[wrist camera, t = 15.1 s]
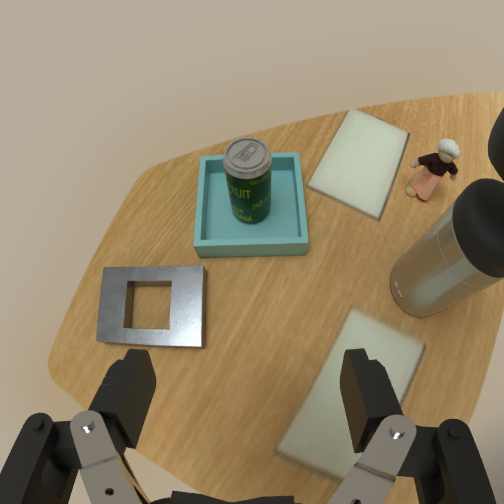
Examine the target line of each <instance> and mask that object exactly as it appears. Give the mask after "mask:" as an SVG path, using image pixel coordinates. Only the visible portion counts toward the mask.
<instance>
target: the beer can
mask: <svg viewBox="0 0 504 504" xmlns="http://www.w3.org/2000/svg"><path fill="white" fill-rule="evenodd" d="M223 165H224V171H225V176H226V181H227V187H228V192H229V197H230V202H231V207H232V212H233V214H234V215H235V217H236V218H238V219H239V220H240V221H243V222H245V223H251V224H252V223H257V222H259V221H261V220H263V219H264V218H265V217H266V216H267V215H268V213H269V211H270V207H271V175H272V157H271V154H270V152H269V148H268V146H267V145H266V144H265V143H264V142H263V141H261V140H260V139H257V138H254V137H243V138H238V139H236V140H234V141H232V142H231V143H230V144H228V146H227V147H226V149H225V152H224V157H223Z"/></svg>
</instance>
